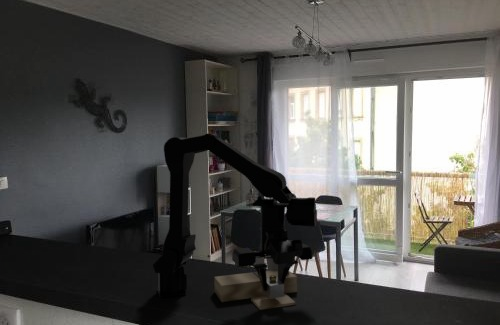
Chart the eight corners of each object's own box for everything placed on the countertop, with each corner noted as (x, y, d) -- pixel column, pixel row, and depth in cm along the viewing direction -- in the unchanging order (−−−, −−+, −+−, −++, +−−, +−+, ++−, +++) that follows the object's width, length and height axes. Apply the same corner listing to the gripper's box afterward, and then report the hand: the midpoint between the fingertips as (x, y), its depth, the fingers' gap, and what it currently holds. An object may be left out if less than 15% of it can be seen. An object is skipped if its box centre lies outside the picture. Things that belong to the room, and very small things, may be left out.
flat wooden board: (259, 309, 94) (259, 307, 94) (251, 300, 100) (251, 298, 100) (295, 304, 97) (295, 302, 97) (285, 295, 103) (285, 293, 103)
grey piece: (270, 298, 95) (270, 280, 95) (261, 290, 100) (261, 273, 100) (284, 296, 96) (284, 279, 96) (275, 288, 102) (275, 272, 101)
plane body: (221, 302, 99) (221, 277, 99) (214, 292, 106) (214, 269, 105) (296, 291, 106) (296, 268, 105) (285, 283, 112) (285, 261, 112)
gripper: (246, 235, 87) (246, 307, 88) (324, 228, 93) (323, 296, 94) (231, 225, 98) (231, 289, 98) (302, 220, 104) (302, 281, 104)
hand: (272, 289), depth 98 cm, fingers open, 4 cm apart
